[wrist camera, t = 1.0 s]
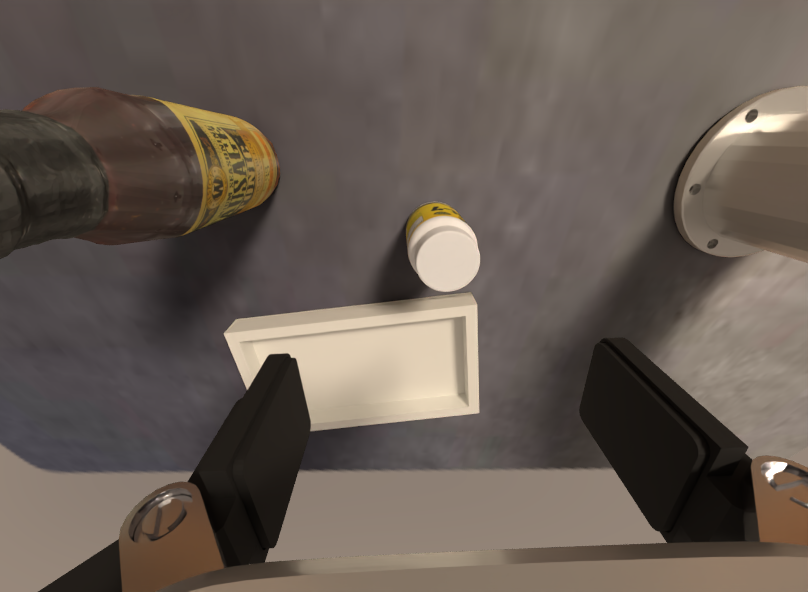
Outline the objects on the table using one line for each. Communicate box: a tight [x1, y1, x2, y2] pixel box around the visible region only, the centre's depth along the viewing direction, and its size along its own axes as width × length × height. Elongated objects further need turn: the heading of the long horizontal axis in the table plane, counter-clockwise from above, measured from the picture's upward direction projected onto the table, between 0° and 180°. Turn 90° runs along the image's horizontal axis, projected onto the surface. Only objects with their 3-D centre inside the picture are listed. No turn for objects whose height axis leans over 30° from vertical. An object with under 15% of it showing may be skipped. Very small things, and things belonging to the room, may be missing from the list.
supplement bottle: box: [406, 202, 480, 292], centre depth 24 cm, size 5×5×8 cm
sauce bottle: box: [0, 87, 280, 259], centre depth 16 cm, size 7×6×20 cm
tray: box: [224, 292, 479, 431], centre depth 32 cm, size 22×12×2 cm, turn 96°
